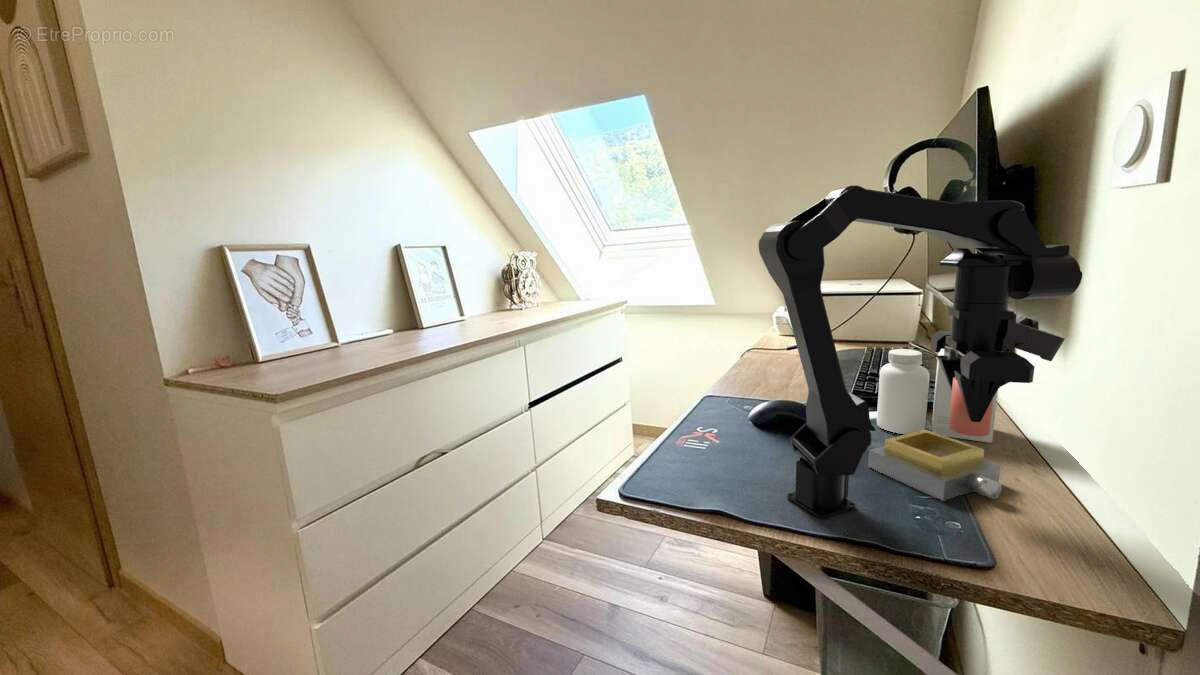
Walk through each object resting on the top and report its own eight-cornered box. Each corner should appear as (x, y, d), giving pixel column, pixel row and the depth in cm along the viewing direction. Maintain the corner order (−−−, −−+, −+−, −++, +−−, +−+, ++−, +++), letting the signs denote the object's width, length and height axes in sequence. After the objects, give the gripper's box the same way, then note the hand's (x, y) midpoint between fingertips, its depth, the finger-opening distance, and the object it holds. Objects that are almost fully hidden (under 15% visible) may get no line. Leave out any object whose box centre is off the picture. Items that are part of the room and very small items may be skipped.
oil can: (974, 438, 65) (979, 383, 64) (940, 427, 69) (945, 375, 68) (997, 432, 67) (1003, 379, 65) (963, 422, 71) (968, 371, 69)
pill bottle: (883, 435, 92) (888, 356, 89) (871, 420, 100) (875, 347, 97) (932, 437, 90) (938, 356, 87) (915, 422, 98) (921, 347, 95)
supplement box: (993, 444, 86) (1002, 360, 83) (931, 435, 91) (938, 355, 88) (989, 427, 93) (997, 349, 91) (932, 420, 98) (938, 345, 96)
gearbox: (965, 512, 66) (969, 477, 65) (867, 467, 80) (869, 438, 79) (1022, 491, 70) (1026, 458, 69) (920, 452, 84) (922, 424, 83)
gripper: (1101, 311, 53) (1081, 448, 56) (1025, 293, 71) (1013, 398, 73) (976, 311, 57) (964, 439, 60) (933, 293, 74) (925, 394, 77)
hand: (969, 415), depth 68 cm, fingers closed on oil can, 4 cm apart
